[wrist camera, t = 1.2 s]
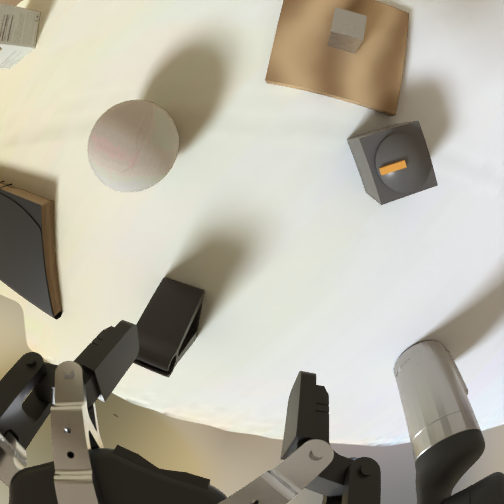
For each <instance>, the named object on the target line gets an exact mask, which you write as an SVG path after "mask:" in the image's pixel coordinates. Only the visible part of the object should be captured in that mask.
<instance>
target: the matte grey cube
mask: <svg viewBox="0 0 504 504" xmlns="http://www.w3.org/2000/svg"><path fill="white" fill-rule="evenodd" d="M366 19H367V16H365V15H361V14H358V13H355V12H351V11H348V10H344V9H340V8H336V7H335V11H334V15H333V19H332V23H331V28H330V34H329V39H328V44H327V46H328V47H332V48H336V49H340V50H343V51H347V52H350V53H354V54H355V53H356V51H357V50H358V48H359V46H360V45H361V43H362V42H363V39H364V33H365V26H366Z"/></svg>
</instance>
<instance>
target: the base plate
mask: <svg viewBox="0 0 504 504" xmlns="http://www.w3.org/2000/svg"><path fill="white" fill-rule="evenodd" d="M335 7H336V8H340V9H344V10H348V11H351V12H355V13H358V14H361V15H365V16H367V19H366V26H365V33H364V39H363V42H362V43H361V45H360V46H359V48H358V50H357V51H356V53H355V54H354V53H350V52H347V51H343V50H340V49H336V48H332V47H328V46H327V44H328V39H329V34H330V28H331V23H332V19H333V15H334V11H335ZM408 20H409V13H407V12H404V11H402V10H399V9H397V8H394V7H392V6H389V5H386V4H384V3H381V2H378V1H375V0H284V1H283V5H282V9H281V13H280V18H279V22H278V26H277V30H276V35H275V39H274V43H273V48H272V52H271V56H270V61H269V65H268V70H267V74H266V79H265V81H266V82H267V83H270V84H276V85H281V86H286V87H291V88H296V89H300V90H305V91H309V92H313V93H318V94H322V95H325V96H329V97H333V98H337V99H340V100H344V101H347V102H350V103H354V104H357V105H360V106H363V107H366V108H369V109H372V110H375V111H378V112H381V113H384V114H386V115H389V116H394V115H396V109H397V104H398V99H399V93H400V87H401V81H402V74H403V67H404V60H405V52H406V43H407V32H408Z"/></svg>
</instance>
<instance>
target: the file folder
mask: <svg viewBox="0 0 504 504" xmlns="http://www.w3.org/2000/svg"><path fill="white" fill-rule="evenodd" d="M2 182H4V181H2ZM9 185H11V184H9ZM0 280H1V281H2V282H3V283H5V284H6V285H7V286H9V287H10V288H11V289H13V290H14V291H15V292H17V293H18V294H19V295H21V296H22V297H23V298H25V299H26V300H28V301H29V302H31V303H32V304H33V305H35V306H36V307H38V308H39V309H41V310H42V311H44V312H45V313H47V314H48V315H50V316H52V317H53V318H55V319H58V318H60V317H61V315H62V312H61V302H60V295H59V287H58V278H57V268H56V257H55V242H54V201H53V200H52V201H50V200H47V199H45V198H43V197H40V196H37V195H34V194H31V193H29V192H27V191H24V190H22V189H15V188H11V187H8V185H4V184H2V183H1V182H0Z"/></svg>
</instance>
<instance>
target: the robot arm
mask: <svg viewBox="0 0 504 504" xmlns="http://www.w3.org/2000/svg"><path fill="white" fill-rule="evenodd" d="M138 352H139V341H138V330H137V326H136V325H135V324H132V323H129V322H127V321H124V320H122V321H120V322H119V323H118V324H117V325H116V326H115V327H112V326H110V327H109V328H107V329H105V330H103V331H102V332H101V333H100V334H99V335H98V336H97V338H95V339H94V340H93V341H92V343H90V344H89V345H88V346H87V348H86V349H85V350H84V351H83V352H82V353H81V354H80V355H79V356H78V357H77V358H76V359H75V360H74V361H73V362H72V361H66V362H63V363H61V364H59V365H53V364H49V363H45V362H44V361H43V358H42V356H41V355H40V354H38V353H36V352H29V353H26V354H25V355H23V356H22V357H21V358H20V359H19V360H18V362H17V363H16V364H15V365H14V366H13V367H12V368H11V369H10V370H9V371H8V373H7V374H6V375H5V376H4V377H3V378H2V379H1V381H0V480H1V481H2V482H3V483H5V484H6V485H7V486H8V487H9V494H10V496H9V504H286V503H288V502H289V501H290V500H291V499H292V498H293V497H295V496H296V495H297V494H298V493H299V492H300V491H301V490H303V489H304V488H307V489H309V490H312V491H314V492H317V493H320V494H323V502H322V504H380V493H381V491H380V490H381V488H380V487H381V485H380V484H381V475H380V474H381V473H380V467H379V465H378V463H377V462H376V461H375V460H373V459H371V458H368V457H361V458H358V459H356V460H355V461H354V460H351V459H349V458H346V457H343V456H341V455H338V454H337V453H336V452H335V451H334V450H333V449H332V447H331V446H330V443H329V414H328V413H329V406H328V405H329V395H328V393H327V391H326V389H325V387H324V386H319V385H316V374H314V373H309V372H303V371H300V372H299V374H298V376H297V378H296V381H295V383H294V385H293V388H292V390H291V393H290V396H289V401H288V408H287V416H286V424H285V432H284V439H283V447H282V454H281V459H283V460H284V461H283V462H281V463H280V464H279V465H277V466H276V467H275V468H274V469H272V470H270V471H267V472H265V473H264V474H262V475H261V476H259V477H258V478H257V479H255V480H254V481H252V482H251V483H249V484H248V485H246V486H245V487H244V488H242V489H240V490H239V491H237V492H236V493H234V494H233V495H231V496H229V497H228V498H227V497H226V495H225V494H223V493H222V492H221V491H219V490H218V489H217V488H215V487H214V486H211V485H210V480H209V479H206V478H203V477H199V476H195V475H193V474H189V473H186V472H178V471H170V470H163V469H159V468H157V467H156V466H154V465H153V464H151V463H150V462H148V461H147V460H146V459H144V458H143V457H141V456H140V455H139V454H136V453H134V452H132V451H130V450H127V449H125V448H123V447H121V446H119V445H117V446H116V448H115V449H110V448H104V447H103V443H102V441H101V438H100V434H99V428H98V422H97V416H96V409H95V404H94V402H95V401H96V400H97V398H98V399H100V400H102V401H104V402H105V401H106V399H107V398H108V397H109V395H110V394H111V392H112V391H113V390H114V388H115V387H116V385H117V384H118V382H119V381H120V380H121V378H122V377H123V375H124V374H125V373H126V371H127V370H128V369H129V367H130V366H131V364H132V363H133V362H134V360H135V359H136V357H137V355H138ZM394 375H395V378H396V382H397V385H398V389H399V393H400V397H401V401H402V405H403V409H404V413H405V418H406V422H407V427H408V431H409V436H410V441H411V446H412V451H413V455H414V462H415V467H416V492H417V504H504V474H503V473H500V472H496V473H493V474H491V475H489V476H487V477H485V478H484V479H482V480H480V481H479V482H477V483H475V484H473V485H471V486H469V487H468V488H466V489H464V490H462V491H460V492H458V493H456V494H454V495H452V496H451V492H452V490H453V488H454V486H455V485H456V483H457V482H458V481H459V479H460V478H461V477H462V476H463V474H464V473H465V472H466V471H467V470H468V469H469V468H470V467H471V466H472V465H473V464H474V463H475V462H476V461H477V460H478V459H479V458H480V456H481V455H482V453H483V451H484V449H485V442H484V438H483V435H482V433H481V430H480V427H479V424H478V422H477V419H476V417H475V414H474V412H473V409H472V407H471V404H470V402H469V400H468V397H467V394H468V389H467V387H466V385H465V383H464V380H463V378H462V376H461V374H460V372H459V370H458V368H457V366H456V364H455V362H454V360H453V358H452V356H451V354H450V352H449V351H446V350H445V349H444V347H443V345H442V344H441V343H439V342H437V341H424V342H420V343H418V344H415V345H414V346H412V347H410V348H409V349H407V350H406V351H405V352H404V353H403V354H402V355H401V356H400V357H399V358H398V360H397V361H396V363H395V366H394ZM31 390H32V392H31ZM30 392H31V393H30ZM29 393H30V394H29ZM28 394H29V396H28V397H27V395H28ZM26 397H27V398H26ZM25 398H26V399H25ZM24 399H25V401H24ZM23 401H24V402H23ZM49 414H50V415H51V436H52V448H53V457H54V461H53V462H49V463H45V464H41V465H37V466H33V467H28V468H24V467H25V466H26V465H27V461H26V458H27V455H26V451H25V450H26V448H27V447H28V445H29V444H30V442H31V441H32V439H33V437H34V436H35V434H36V433H37V431H38V430H39V428H40V427H41V425H42V424H43V422H44V421H45V419H46V418H47V416H48V415H49Z"/></svg>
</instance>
